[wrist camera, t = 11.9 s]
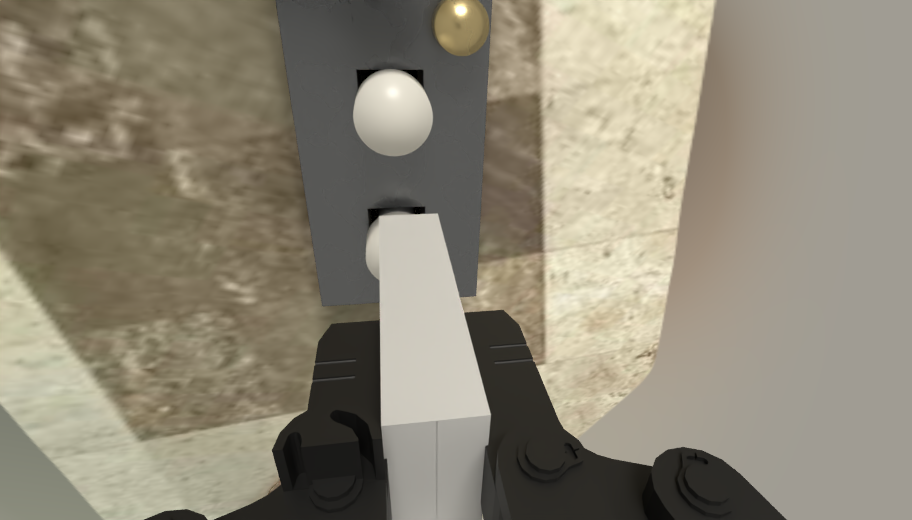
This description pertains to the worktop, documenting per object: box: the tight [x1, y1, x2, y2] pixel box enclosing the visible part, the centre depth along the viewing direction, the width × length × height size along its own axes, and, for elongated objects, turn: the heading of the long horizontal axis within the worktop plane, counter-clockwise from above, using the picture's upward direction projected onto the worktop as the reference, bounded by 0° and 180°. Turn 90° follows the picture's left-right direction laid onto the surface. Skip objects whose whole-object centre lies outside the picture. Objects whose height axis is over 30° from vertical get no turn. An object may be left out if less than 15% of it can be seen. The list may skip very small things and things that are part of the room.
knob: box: [366, 207, 414, 280], centre depth 34 cm, size 4×4×8 cm
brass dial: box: [432, 0, 489, 56], centre depth 26 cm, size 3×3×2 cm
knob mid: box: [353, 69, 433, 156], centre depth 29 cm, size 4×4×8 cm
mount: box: [276, 0, 492, 306], centre depth 31 cm, size 30×12×5 cm, turn 179°
